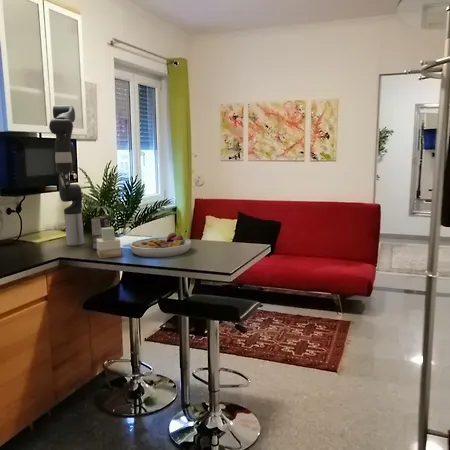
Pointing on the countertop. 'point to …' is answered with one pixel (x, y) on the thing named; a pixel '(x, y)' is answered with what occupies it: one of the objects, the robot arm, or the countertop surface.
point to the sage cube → (108, 233)
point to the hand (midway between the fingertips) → (66, 195)
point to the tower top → (108, 244)
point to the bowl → (161, 246)
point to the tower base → (108, 253)
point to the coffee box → (99, 228)
